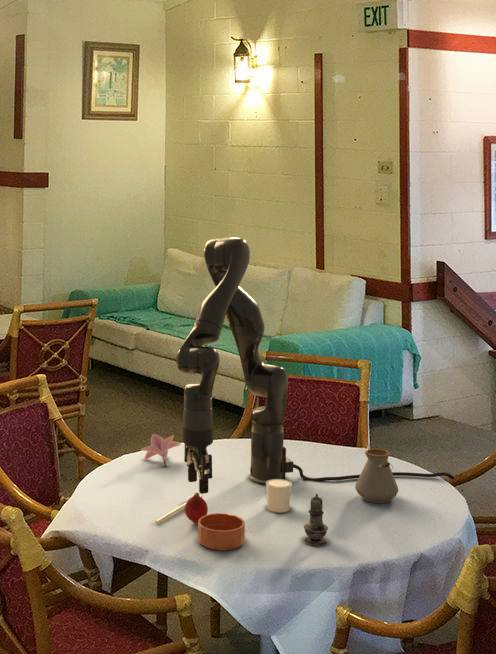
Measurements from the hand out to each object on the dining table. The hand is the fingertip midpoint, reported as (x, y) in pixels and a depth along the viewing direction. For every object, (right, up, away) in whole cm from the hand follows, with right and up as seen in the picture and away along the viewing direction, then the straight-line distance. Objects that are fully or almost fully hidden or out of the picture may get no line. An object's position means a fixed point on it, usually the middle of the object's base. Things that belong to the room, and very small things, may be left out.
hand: (197, 487), depth 242 cm
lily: (-9, -4, +48) cm, 49 cm away
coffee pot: (+49, -8, +14) cm, 52 cm away
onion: (0, -10, +1) cm, 10 cm away
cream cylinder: (+22, -8, +11) cm, 26 cm away
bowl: (+5, -11, -10) cm, 16 cm away
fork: (-5, -9, +9) cm, 13 cm away
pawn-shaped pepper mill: (+28, -11, -9) cm, 32 cm away
